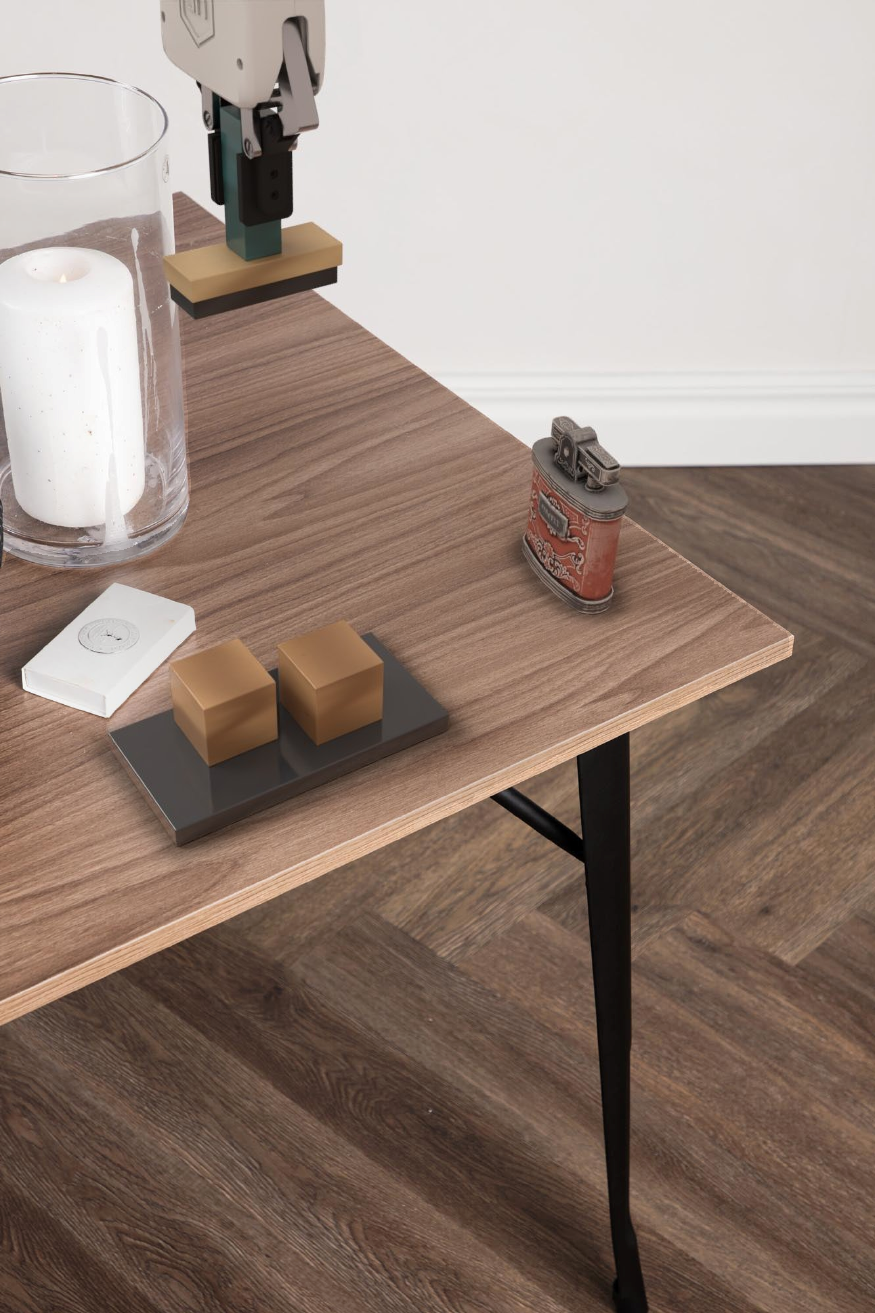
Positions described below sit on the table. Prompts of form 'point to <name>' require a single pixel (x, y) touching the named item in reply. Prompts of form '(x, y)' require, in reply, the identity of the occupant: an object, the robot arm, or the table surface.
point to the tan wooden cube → (224, 701)
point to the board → (266, 757)
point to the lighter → (574, 516)
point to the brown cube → (330, 681)
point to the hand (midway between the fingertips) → (252, 207)
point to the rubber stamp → (249, 250)
